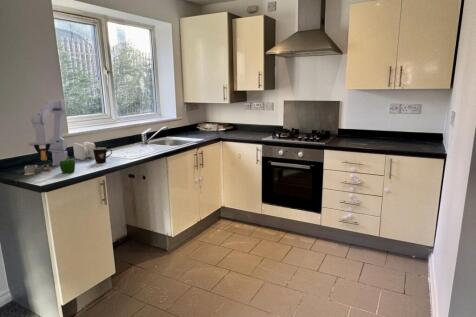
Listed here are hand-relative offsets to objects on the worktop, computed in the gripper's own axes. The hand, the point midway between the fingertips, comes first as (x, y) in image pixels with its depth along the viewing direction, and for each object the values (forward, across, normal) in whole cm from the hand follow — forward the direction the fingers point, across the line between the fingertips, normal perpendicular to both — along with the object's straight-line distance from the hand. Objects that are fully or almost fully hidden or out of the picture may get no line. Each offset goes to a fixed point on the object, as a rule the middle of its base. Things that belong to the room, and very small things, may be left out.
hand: (43, 156), depth 200 cm
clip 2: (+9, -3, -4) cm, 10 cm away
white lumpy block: (+10, +24, +29) cm, 39 cm away
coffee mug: (+10, +35, +9) cm, 37 cm away
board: (+10, -4, +1) cm, 10 cm away
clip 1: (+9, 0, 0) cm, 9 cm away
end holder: (+9, -8, +2) cm, 12 cm away
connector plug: (+2, 0, 0) cm, 2 cm away
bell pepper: (+10, +13, -12) cm, 20 cm away
